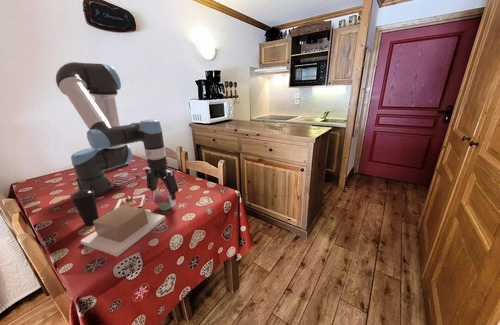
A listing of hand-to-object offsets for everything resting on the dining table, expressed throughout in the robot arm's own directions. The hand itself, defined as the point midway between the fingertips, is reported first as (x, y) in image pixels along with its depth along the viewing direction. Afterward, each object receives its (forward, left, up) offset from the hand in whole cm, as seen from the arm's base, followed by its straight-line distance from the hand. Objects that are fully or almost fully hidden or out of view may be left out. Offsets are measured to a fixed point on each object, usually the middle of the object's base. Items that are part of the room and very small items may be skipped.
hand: (165, 204), depth 93 cm
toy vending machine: (-75, +33, -2) cm, 82 cm away
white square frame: (-20, -3, -3) cm, 20 cm away
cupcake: (0, 0, -2) cm, 2 cm away
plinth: (-3, -18, -2) cm, 18 cm away
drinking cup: (-22, -19, -2) cm, 29 cm away
